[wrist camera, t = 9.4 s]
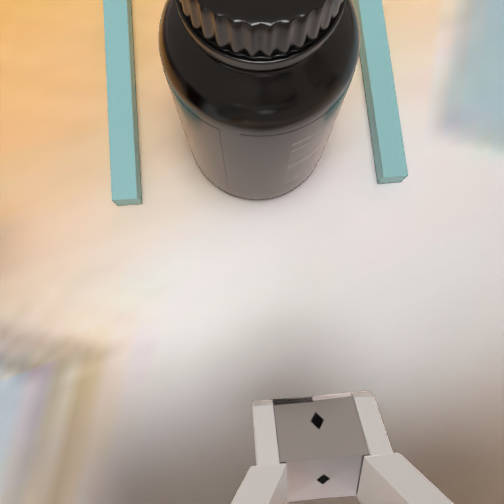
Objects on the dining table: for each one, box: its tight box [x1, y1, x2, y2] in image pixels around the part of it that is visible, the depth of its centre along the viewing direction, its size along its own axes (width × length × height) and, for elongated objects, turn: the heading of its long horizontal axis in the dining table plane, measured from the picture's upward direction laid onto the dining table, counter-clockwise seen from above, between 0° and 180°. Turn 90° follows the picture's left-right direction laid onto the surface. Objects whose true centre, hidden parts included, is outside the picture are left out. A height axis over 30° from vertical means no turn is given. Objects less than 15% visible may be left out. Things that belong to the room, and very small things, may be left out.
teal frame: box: [103, 0, 408, 206], centre depth 23 cm, size 14×14×1 cm
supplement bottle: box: [159, 0, 360, 199], centre depth 17 cm, size 7×7×12 cm
